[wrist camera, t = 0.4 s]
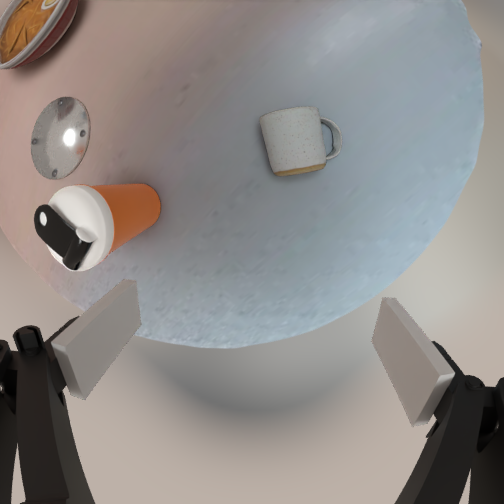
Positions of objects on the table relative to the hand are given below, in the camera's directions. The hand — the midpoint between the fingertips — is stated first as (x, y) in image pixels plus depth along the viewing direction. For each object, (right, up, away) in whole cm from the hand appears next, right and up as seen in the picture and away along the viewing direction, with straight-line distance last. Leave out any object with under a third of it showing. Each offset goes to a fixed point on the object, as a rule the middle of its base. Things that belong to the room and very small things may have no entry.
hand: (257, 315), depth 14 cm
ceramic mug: (+7, +19, +23) cm, 31 cm away
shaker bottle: (-17, +10, +27) cm, 34 cm away
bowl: (-41, +49, +18) cm, 66 cm away
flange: (-34, +23, +24) cm, 48 cm away
